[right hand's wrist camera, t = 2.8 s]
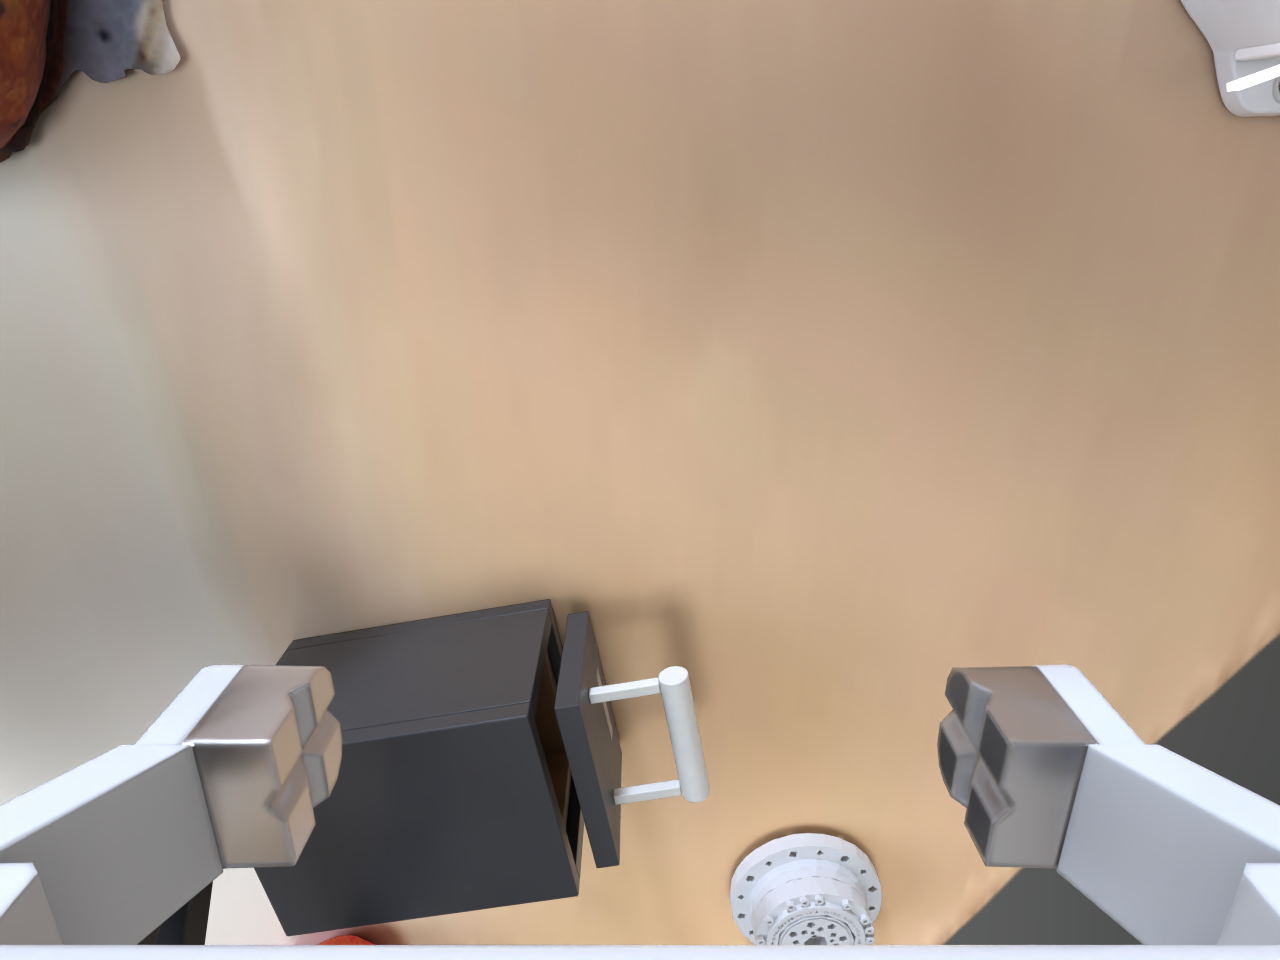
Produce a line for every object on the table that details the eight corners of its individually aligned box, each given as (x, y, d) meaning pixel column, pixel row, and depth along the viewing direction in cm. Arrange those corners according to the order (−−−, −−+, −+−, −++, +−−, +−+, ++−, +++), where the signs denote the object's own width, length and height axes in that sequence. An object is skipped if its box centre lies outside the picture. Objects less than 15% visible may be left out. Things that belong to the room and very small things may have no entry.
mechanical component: (713, 846, 53) (746, 949, 57) (720, 904, 49) (755, 1011, 53) (862, 815, 52) (886, 921, 56) (882, 871, 48) (906, 982, 52)
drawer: (678, 596, 45) (687, 688, 37) (705, 740, 49) (718, 851, 41) (347, 649, 46) (289, 749, 38) (398, 786, 50) (354, 902, 42)
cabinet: (550, 598, 46) (527, 715, 37) (589, 754, 50) (578, 896, 41) (292, 640, 47) (203, 765, 37) (352, 789, 51) (286, 937, 42)
